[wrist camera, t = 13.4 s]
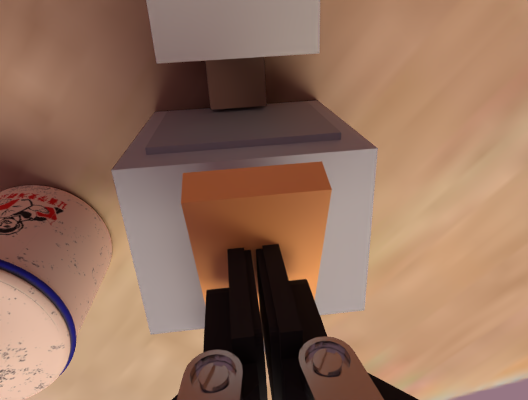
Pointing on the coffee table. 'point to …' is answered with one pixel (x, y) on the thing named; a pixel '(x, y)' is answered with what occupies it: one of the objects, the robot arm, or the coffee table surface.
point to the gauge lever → (257, 218)
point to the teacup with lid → (45, 283)
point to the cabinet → (232, 157)
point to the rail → (236, 82)
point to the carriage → (233, 28)
